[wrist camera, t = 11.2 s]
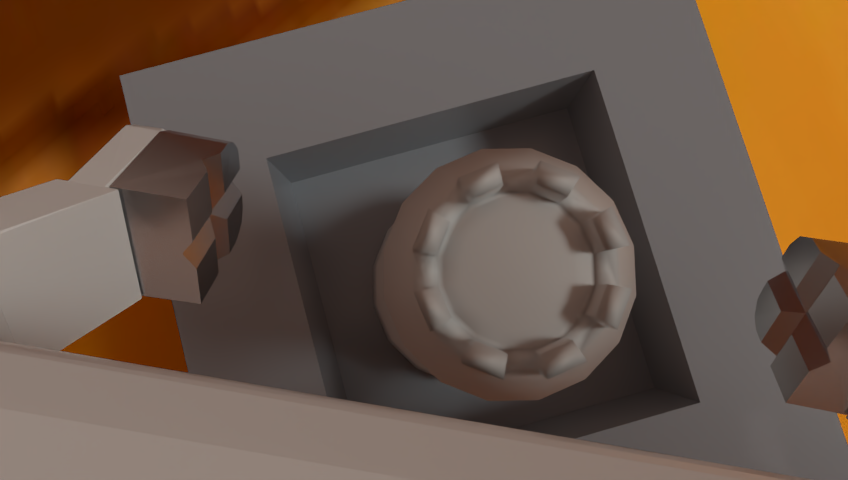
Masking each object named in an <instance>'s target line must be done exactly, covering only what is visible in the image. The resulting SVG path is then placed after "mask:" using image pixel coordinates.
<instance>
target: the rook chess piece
mask: <svg viewBox="0 0 848 480" xmlns="http://www.w3.org/2000/svg"><path fill="white" fill-rule="evenodd" d="M635 298H636V279H635V257H634V245H633V242H632V240H631V238H630V236H629V234H628V232H627V229H626V227H625V225H624V223H623V221H622V219H621V216H620V214H619V212H618V210H617V208H616V206H615V203H614V201H613V200H612V199H611V198H610V197H609V196H608V195H607V194H606V193H605V192H604V191H603V190H602V189H601V188H599V187H598V186H597V185H596V184H595V183H594V182H593V181H592V180H591V179H590V178H589V177H588V176H587V175H586V174H585V173H584V172H582V171H581V170H580V169H579V168H578V167H577V166H575V165H572V164H570V163H567V162H565V161H562V160H560V159H557V158H554V157H552V156H549V155H547V154H544V153H542V152H539V151H537V150H534V149H531V148H516V149H480V150H478V151H476V152H473V153H471V154H469V155H466V156H464V157H462V158H459V159H457V160H454V161H452V162H450V163H447V164H445V165H443V166H440V167H438V168H436V169H435V170H434V171H433V172H432V173H431V174H430V175H429V176H428V177H427V178H426V179H425V180H424V181H423V182H422V183H421V184H420V185H419V187H418V188H417V189H416V190H415V191H414V192H413V193H412V194H411V195H410V196H409V197H408V198H407V199H406V200H405V201H404V202H403V203H402V205H401V207H400V210H399V212H398V215H397V217H396V220H395V222H394V224H393V225H392V226H391V227H390V228H389V229H388V231H387V233H386V235H385V238H384V240H383V243H382V245H381V248H380V250H379V253H378V255H377V258H376V260H375V263H374V265H373V306H374V308H375V311H376V313H377V315H378V318H379V320H380V323H381V325H382V327H383V330H384V332H385V334H386V337H387V339H388V341H389V342H390V343H391V344H392V345H393V346H394V347H395V348H396V349H397V350H398V351H399V352H400V353H401V354H402V355H403V356H404V357H405V358H406V359H407V360H408V361H409V362H410V363H411V364H412V365H413V366H414V367H416V368H417V369H419V370H421V371H424V372H426V373H429V374H431V375H433V376H435V377H436V378H437V379H438V380H439V381H440V382H442V383H444V384H447V385H449V386H452V387H454V388H457V389H459V390H462V391H464V392H467V393H469V394H472V395H474V396H477V397H479V398H482V399H484V400H487V401H513V400H540V399H542V398H545V397H547V396H549V395H551V394H553V393H556V392H558V391H560V390H562V389H565V388H567V387H569V386H571V385H574V384H576V383H578V382H580V381H583V380H585V379H586V378H587V377H588V376H589V375H590V373H591V372H592V371H593V370H594V369H595V368H596V367H597V366H598V365H599V364H600V363H601V362H602V361H603V359H604V358H605V357H606V356H607V355H608V354H609V353H610V352H611V351H612V350H613V349H614V348H615V347H616V345H617V344H618V343H619V342H620V339H621V336H622V333H623V331H624V328H625V325H626V322H627V320H628V317H629V314H630V311H631V309H632V306H633V303H634V300H635Z"/></svg>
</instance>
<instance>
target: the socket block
mask: <svg viewBox="0 0 848 480" xmlns="http://www.w3.org/2000/svg"><path fill="white" fill-rule="evenodd" d="M120 80H121V84H122V88H123V92H124V97H125V101H126V105H127V110H128V114H129V118H130V123H131V125H134V124H135V125H141V126H148V127H155V128H161V129H164V130H171V131H176V132H182V133H187V134H192V135H198V136H203V137H209V138H214V139H220V140H225V141H230V142H234V144H235V145H236V147H237V148H238V153H239V162H240V170H239V171H238V173H237V175H236V176H235V178H234V179H233V181H232V182H233V183H234V184H235V186H236V187H237V188H238V189H239V191H240V192H241V193H242V201H243V213H242V224H241V227H240V231H239V234H238V238H237V241H236V243H235V245H234V247H233V249H232V251H231V252H230V254H228V255H226V256H224V257H222V258H220V259H218V269H219V274H218V276H217V277H216V279H215V281H214V283H213V284H212V286H211V288H210V290H209V291H208V293H207V295H206V297H205V298H204V300H203V302H202V304H197V303H190V302H183V301H176V300H172V304H173V308H174V312H175V317H176V321H177V325H178V330H179V334H180V338H181V342H182V347H183V351H184V355H185V360H186V364H187V368H188V373H192V374H198V375H204V376H210V377H215V378H221V379H227V380H233V381H239V382H245V383H251V384H256V385H262V386H268V387H274V388H280V389H286V390H292V391H297V392H303V393H309V394H315V395H321V396H327V397H332V398H338V399H344V400H350V401H356V402H362V403H368V404H373V405H379V406H385V407H391V408H397V409H403V410H409V411H415V412H420V413H426V414H432V415H438V416H444V417H450V418H456V419H462V420H468V421H473V422H479V423H485V424H491V425H497V426H503V427H509V428H515V429H521V430H526V431H532V432H538V433H544V434H550V435H556V436H562V437H568V438H573V439H579V440H585V441H591V442H597V443H603V444H609V445H615V446H621V447H626V448H632V449H638V450H644V451H650V452H656V453H661V454H667V455H673V456H679V457H685V458H690V459H696V460H702V461H708V462H713V463H719V464H725V465H731V466H737V467H742V468H748V469H754V470H760V471H766V472H771V473H777V474H783V475H789V476H794V477H800V478H806V479H812V480H848V445H847V442H846V439H845V436H844V433H843V430H842V427H841V424H840V421H839V419H838V416H837V413H835V412H830V411H825V410H820V409H814V408H809V407H804V406H799V405H794V404H789V403H785V400H784V398H783V395H782V393H781V390H780V388H779V386H778V383H777V381H776V378H775V376H774V373H773V371H772V369H771V364H772V362H773V361H774V359H775V357H776V355H775V354H774V353H772V352H771V351H770V350H769V349H768V348H767V347H766V346H765V345H763V344H762V343H761V341H760V339H759V336H758V333H757V331H756V325H755V310H756V305H757V300H758V297H759V295H760V293H761V291H762V290H763V288H764V286H765V284H766V282H767V281H768V280H770V279H772V278H774V277H775V276H777V275H779V274H781V273H783V272H784V271H785V269H784V266H783V262H782V256H783V255H782V252H781V249H780V246H779V243H778V240H777V237H776V235H775V232H774V229H773V226H772V223H771V220H770V217H769V214H768V211H767V208H766V205H765V202H764V199H763V197H762V194H761V191H760V188H759V185H758V182H757V179H756V176H755V173H754V170H753V167H752V164H751V162H750V159H749V156H748V153H747V150H746V147H745V144H744V141H743V138H742V135H741V132H740V129H739V126H738V124H737V121H736V118H735V115H734V112H733V109H732V106H731V103H730V100H729V97H728V94H727V91H726V89H725V86H724V83H723V80H722V77H721V74H720V71H719V68H718V65H717V62H716V59H715V56H714V53H713V51H712V48H711V45H710V42H709V39H708V36H707V33H706V30H705V27H704V24H703V21H702V18H701V15H700V13H699V10H698V7H697V4H696V1H695V0H406V1H402V2H398V3H395V4H391V5H387V6H383V7H379V8H376V9H372V10H368V11H364V12H360V13H357V14H353V15H349V16H345V17H341V18H337V19H334V20H330V21H326V22H322V23H318V24H315V25H311V26H307V27H303V28H299V29H296V30H292V31H288V32H284V33H280V34H277V35H273V36H269V37H265V38H261V39H258V40H254V41H250V42H246V43H242V44H239V45H235V46H231V47H227V48H223V49H220V50H216V51H212V52H208V53H204V54H201V55H197V56H193V57H189V58H185V59H182V60H178V61H174V62H170V63H166V64H163V65H159V66H155V67H151V68H147V69H144V70H140V71H136V72H132V73H128V74H125V75H121V76H120ZM516 148H531V149H534V150H537V151H539V152H542V153H544V154H547V155H549V156H552V157H554V158H557V159H560V160H562V161H565V162H567V163H570V164H572V165H575V166H577V167H578V168H579V169H580V170H581V171H582V172H584V173H585V174H586V175H587V176H588V177H589V178H590V179H591V180H592V181H593V182H594V183H595V184H596V185H597V186H598V187H599V188H601V189H602V190H603V191H604V192H605V193H606V194H607V195H608V196H609V197H610V198H611V199H612V200H613V201H614V203H615V206H616V208H617V210H618V212H619V214H620V216H621V219H622V221H623V223H624V225H625V227H626V229H627V232H628V234H629V236H630V238H631V240H632V242H633V245H634V257H635V279H636V298H635V300H634V303H633V306H632V309H631V311H630V314H629V317H628V320H627V322H626V325H625V328H624V331H623V333H622V336H621V339H620V342H619V343H618V344H617V345H616V347H615V348H614V349H613V350H612V351H611V352H610V353H609V354H608V355H607V356H606V357H605V358H604V359H603V361H602V362H601V363H600V364H599V365H598V366H597V367H596V368H595V369H594V370H593V371H592V372H591V373H590V375H589V376H588V377H587V378H586V379H585V380H583V381H580V382H578V383H576V384H574V385H571V386H569V387H567V388H565V389H562V390H560V391H558V392H556V393H553V394H551V395H549V396H547V397H545V398H542V399H540V400H513V401H487V400H484V399H482V398H479V397H477V396H474V395H472V394H469V393H467V392H464V391H462V390H459V389H457V388H454V387H452V386H449V385H447V384H444V383H442V382H440V381H439V380H438V379H437V378H436V377H435V376H433V375H431V374H429V373H426V372H424V371H421V370H419V369H417V368H416V367H414V366H413V365H412V364H411V363H410V362H409V361H408V360H407V359H406V358H405V357H404V356H403V355H402V354H401V353H400V352H399V351H398V350H397V349H396V348H395V347H394V346H393V345H392V344H391V343H390V342H389V341H388V339H387V337H386V334H385V332H384V330H383V327H382V325H381V323H380V320H379V318H378V315H377V313H376V311H375V308H374V306H373V265H374V263H375V260H376V258H377V255H378V253H379V250H380V248H381V245H382V243H383V240H384V238H385V235H386V233H387V231H388V229H389V228H390V227H391V226H392V225H393V224H394V222H395V220H396V217H397V215H398V212H399V210H400V207H401V205H402V203H403V202H404V201H405V200H406V199H407V198H408V197H409V196H410V195H411V194H412V193H413V192H414V191H415V190H416V189H417V188H418V187H419V185H420V184H421V183H422V182H423V181H424V180H425V179H426V178H427V177H428V176H429V175H430V174H431V173H432V172H433V171H434V170H435V169H436V168H438V167H440V166H443V165H445V164H447V163H450V162H452V161H454V160H457V159H459V158H462V157H464V156H466V155H469V154H471V153H473V152H476V151H478V150H480V149H516Z"/></svg>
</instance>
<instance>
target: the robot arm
mask: <svg viewBox="0 0 848 480" xmlns="http://www.w3.org/2000/svg"><path fill="white" fill-rule="evenodd" d="M239 170H240V162H239V153H238V148H237V147H236V145H235V144H234V142H230V141H225V140H220V139H214V138H209V137H203V136H198V135H192V134H187V133H182V132H176V131H171V130H164V129H161V128H155V127H148V126H141V125H135V124H134V125H126V126H124V127H123V128H122V129H121V130H120V131H119V132H118V133H117V134H116V135H115V136H114V137H113V138H112V139H111V140H110V141H109V142H108V143H107V144H106V145H105V146H104V147H103V148H102V149H101V150H99V151H98V152H97V153H96V154H95V155H94V156H93V157H92V158H91V159H90V160H89V161H88V162H87V163H86V164H85V165H84V166H83V167H82V168H81V169H80V170H79V171H78V172H77V173H76V174H75V175H74V176H73V177H71V178H70V179H69V180H68V181H66V180H60V179H56V180H52V181H49V182H46V183H43V184H40V185H37V186H34V187H31V188H28V189H25V190H21V191H18V192H15V193H12V194H9V195H6V196H3V197H0V480H812V479H806V478H800V477H794V476H789V475H783V474H777V473H771V472H766V471H760V470H754V469H748V468H742V467H737V466H731V465H725V464H719V463H713V462H708V461H702V460H696V459H690V458H685V457H679V456H673V455H667V454H661V453H656V452H650V451H644V450H638V449H632V448H626V447H621V446H615V445H609V444H603V443H597V442H591V441H585V440H579V439H573V438H568V437H562V436H556V435H550V434H544V433H538V432H532V431H526V430H521V429H515V428H509V427H503V426H497V425H491V424H485V423H479V422H473V421H468V420H462V419H456V418H450V417H444V416H438V415H432V414H426V413H420V412H415V411H409V410H403V409H397V408H391V407H385V406H379V405H373V404H368V403H362V402H356V401H350V400H344V399H338V398H332V397H327V396H321V395H315V394H309V393H303V392H297V391H292V390H286V389H280V388H274V387H268V386H262V385H256V384H251V383H245V382H239V381H233V380H227V379H221V378H215V377H210V376H204V375H198V374H192V373H186V372H180V371H175V370H169V369H163V368H157V367H151V366H145V365H139V364H134V363H128V362H122V361H116V360H110V359H104V358H98V357H93V356H87V355H81V354H75V353H69V352H63V351H60V350H62V349H63V348H65V347H67V346H68V345H70V344H71V343H73V342H74V341H76V340H78V339H79V338H81V337H82V336H84V335H86V334H87V333H89V332H90V331H92V330H93V329H95V328H97V327H98V326H100V325H101V324H103V323H104V322H106V321H108V320H109V319H111V318H112V317H114V316H115V315H117V314H119V313H120V312H122V311H123V310H125V309H126V308H128V307H130V306H131V305H133V304H134V303H136V302H137V301H139V300H141V299H142V296H148V297H155V298H162V299H169V300H176V301H183V302H190V303H197V304H202V302H203V300H204V298H205V297H206V295H207V293H208V291H209V290H210V288H211V286H212V284H213V283H214V281H215V279H216V277H217V276H218V274H219V269H218V259H220V258H222V257H224V256H226V255H228V254H230V252H231V251H232V249H233V247H234V245H235V243H236V241H237V238H238V234H239V231H240V227H241V224H242V213H243V201H242V193H241V192H240V191H239V189H238V188H237V187H236V186H235V184H234V183H233V182H232V181H233V179H234V178H235V176H236V175H237V173H238V171H239ZM782 262H783V266H784V269H785V271H784V272H783V273H781V274H779V275H777V276H775V277H774V278H772V279H770V280H768V281H767V282H766V284H765V286H764V288H763V290H762V291H761V293H760V295H759V297H758V300H757V305H756V310H755V325H756V331H757V333H758V336H759V339H760V341H761V343H762V344H763V345H765V346H766V347H767V348H768V349H769V350H770V351H771V352H772V353H774V354H775V355H776V357H775V359H774V361H773V362H772V364H771V369H772V371H773V373H774V376H775V378H776V381H777V383H778V386H779V388H780V390H781V393H782V395H783V398H784V400H785V403H789V404H794V405H799V406H804V407H809V408H814V409H820V410H825V411H830V412H835V413H840V414H845V415H847V416H846V418H847V419H848V243H844V242H836V241H829V240H822V239H815V238H808V237H801V236H800V237H799V238H797V239H796V240H795V241H794V242H793V243H791V244H790V245H789V247H788V249H787V250H786V252H785V253H784V255H783V256H782Z"/></svg>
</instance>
